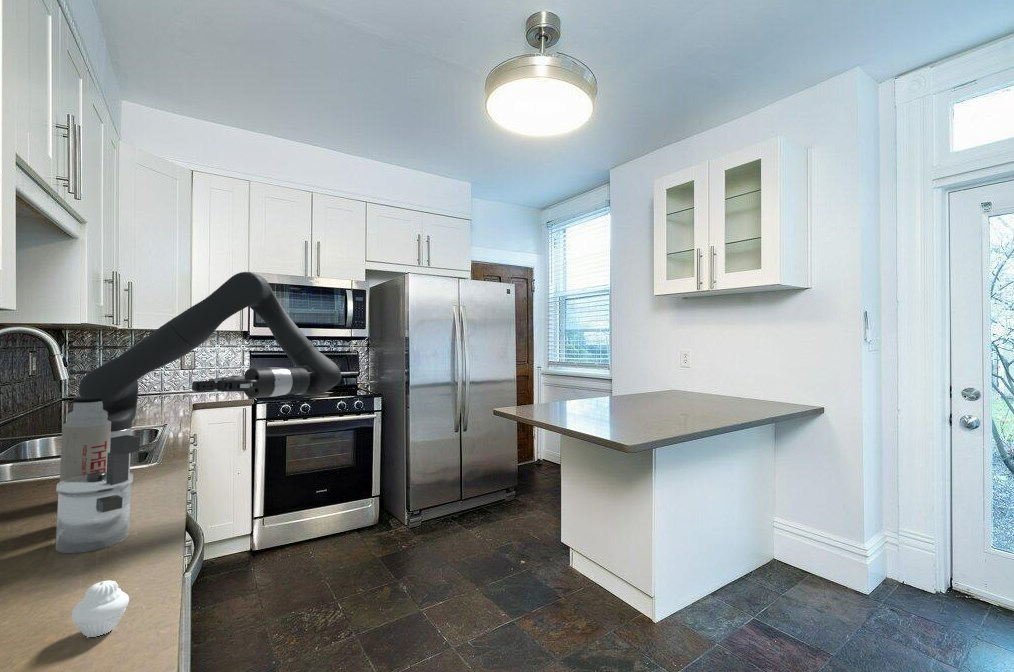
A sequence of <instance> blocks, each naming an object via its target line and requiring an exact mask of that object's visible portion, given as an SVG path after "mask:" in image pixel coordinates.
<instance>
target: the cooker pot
mask: <svg viewBox="0 0 1014 672" xmlns="http://www.w3.org/2000/svg"><path fill="white" fill-rule="evenodd" d="M131 488H132V483H131V484H129V485H127V486H124V487H121V488H118V489H114V490H110V491H105V492H99V493H92V494H82V495H64V494H59V493H57V494H58V496H57V514H56V515H57V517H56V535H55V537H56V538H55V550H56V551H57V552H58V553H63V554H80V553H87V552H92V551H93V552H94V551H98V550H101V549H102V550H103V549H105V548H108V547H110V546H111V547H112V546H114V545H116V544H119V543H121V542H122V541H124V540H126V539H127V538H128V537H129V535H130V515H131V514H130V511H131V495H132V494H131V491H132V490H131Z"/></svg>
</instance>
